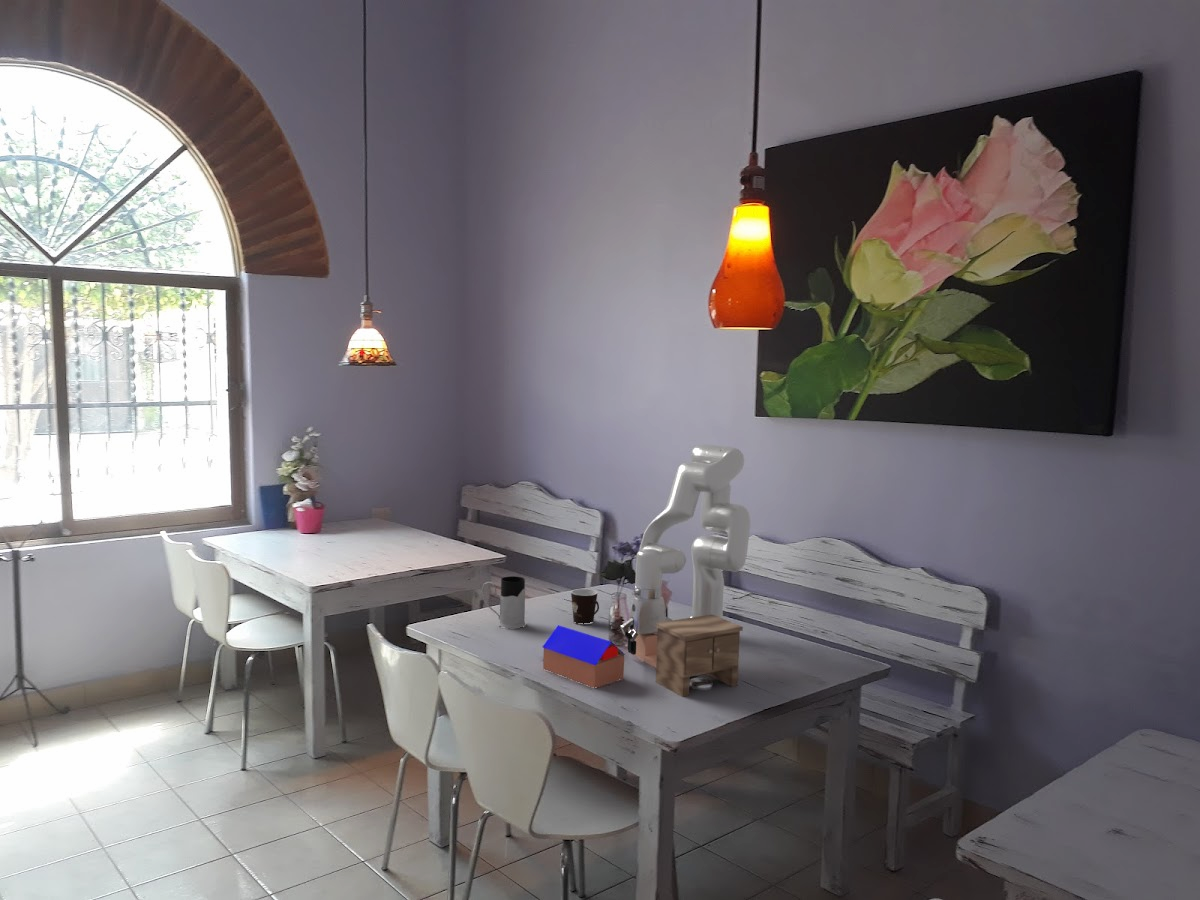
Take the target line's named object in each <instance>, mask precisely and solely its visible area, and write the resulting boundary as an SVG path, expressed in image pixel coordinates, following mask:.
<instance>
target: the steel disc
mask: <svg viewBox="0 0 1200 900" xmlns="http://www.w3.org/2000/svg"><path fill="white" fill-rule="evenodd" d="M713 683H714V682H713V681H712V680H711V679H710V678H709V679H708V678H705V677H693V678H692V677H691V678H690V681H689V688H691V689H693V690H697V691H709V689H710V690H711V688H712V689H713V686H714V684H713Z"/></svg>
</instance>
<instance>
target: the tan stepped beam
mask: <svg viewBox="0 0 1200 900" xmlns="http://www.w3.org/2000/svg"><path fill="white" fill-rule="evenodd" d="M635 641H636V654H635V658H636V657H637V658H639V659H640V660H641V661H643V662H644V663H646V664H647V665H650V666H651V667H653V668H655V669H656V662H657V633H651V634H644V635H639V634H638V636H637V637H636V639H635ZM692 677H693V678H694V676H690V678H692Z"/></svg>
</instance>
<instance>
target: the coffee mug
mask: <svg viewBox="0 0 1200 900" xmlns="http://www.w3.org/2000/svg"><path fill="white" fill-rule="evenodd" d="M570 594H571V605H572V606H571V607H572V616H573V617H572V619H573V623H574V622H576V623H583V624H584V623H590V622H593V623H594V620H595V615H596V614H597V613H598V612H599V610H600V603H599V602H598V599H597V598H598V591H597V590H594V589H591V588H589V589H588V588H578V589H577V588H576V589H573V590H571V591H570Z"/></svg>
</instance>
